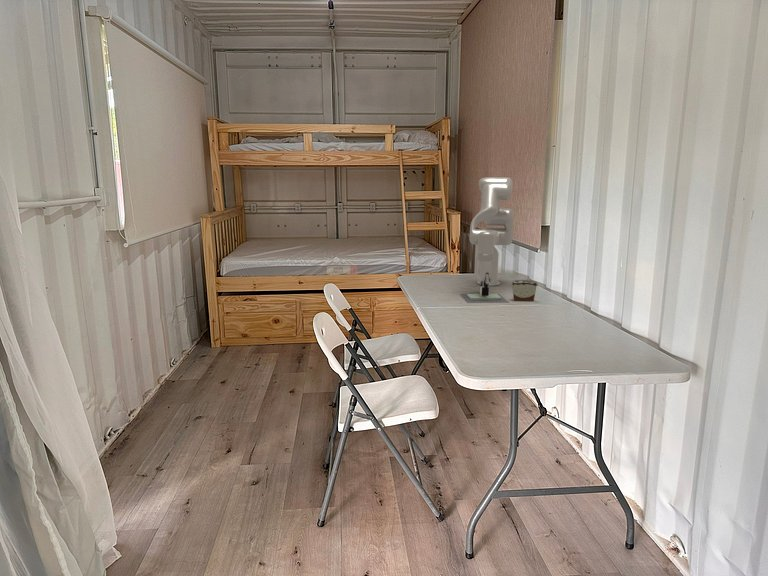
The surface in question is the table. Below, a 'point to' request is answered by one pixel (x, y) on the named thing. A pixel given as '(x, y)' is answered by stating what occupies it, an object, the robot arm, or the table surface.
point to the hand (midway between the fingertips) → (483, 294)
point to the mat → (484, 300)
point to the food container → (524, 290)
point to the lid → (480, 297)
